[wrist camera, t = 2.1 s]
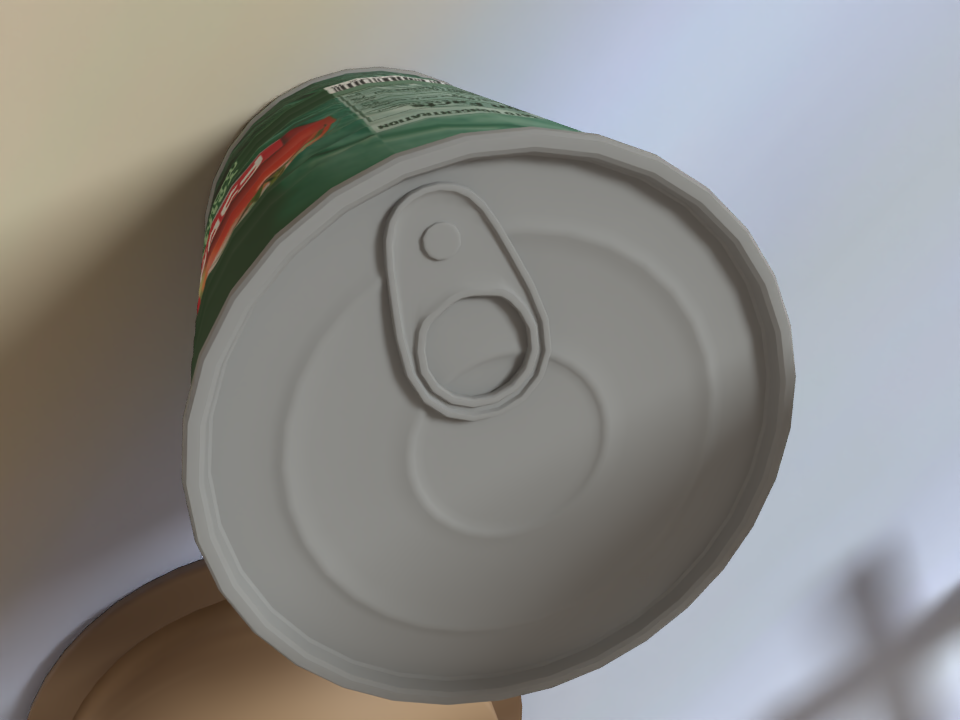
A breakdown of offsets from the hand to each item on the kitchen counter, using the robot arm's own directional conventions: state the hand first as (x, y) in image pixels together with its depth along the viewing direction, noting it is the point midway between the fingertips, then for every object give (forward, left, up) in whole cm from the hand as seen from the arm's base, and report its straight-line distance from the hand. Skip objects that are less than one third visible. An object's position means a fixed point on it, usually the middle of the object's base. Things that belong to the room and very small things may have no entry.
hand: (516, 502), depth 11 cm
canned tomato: (0, 0, -12) cm, 12 cm away
